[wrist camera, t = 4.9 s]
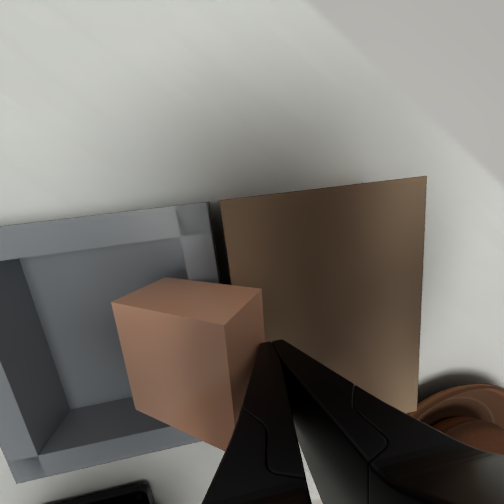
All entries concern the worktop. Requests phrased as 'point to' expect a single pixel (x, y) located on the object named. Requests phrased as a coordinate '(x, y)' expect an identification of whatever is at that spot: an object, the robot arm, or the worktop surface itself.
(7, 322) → the box
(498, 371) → the worktop surface
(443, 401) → the cup and saucer
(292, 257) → the tan wooden board
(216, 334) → the tile
